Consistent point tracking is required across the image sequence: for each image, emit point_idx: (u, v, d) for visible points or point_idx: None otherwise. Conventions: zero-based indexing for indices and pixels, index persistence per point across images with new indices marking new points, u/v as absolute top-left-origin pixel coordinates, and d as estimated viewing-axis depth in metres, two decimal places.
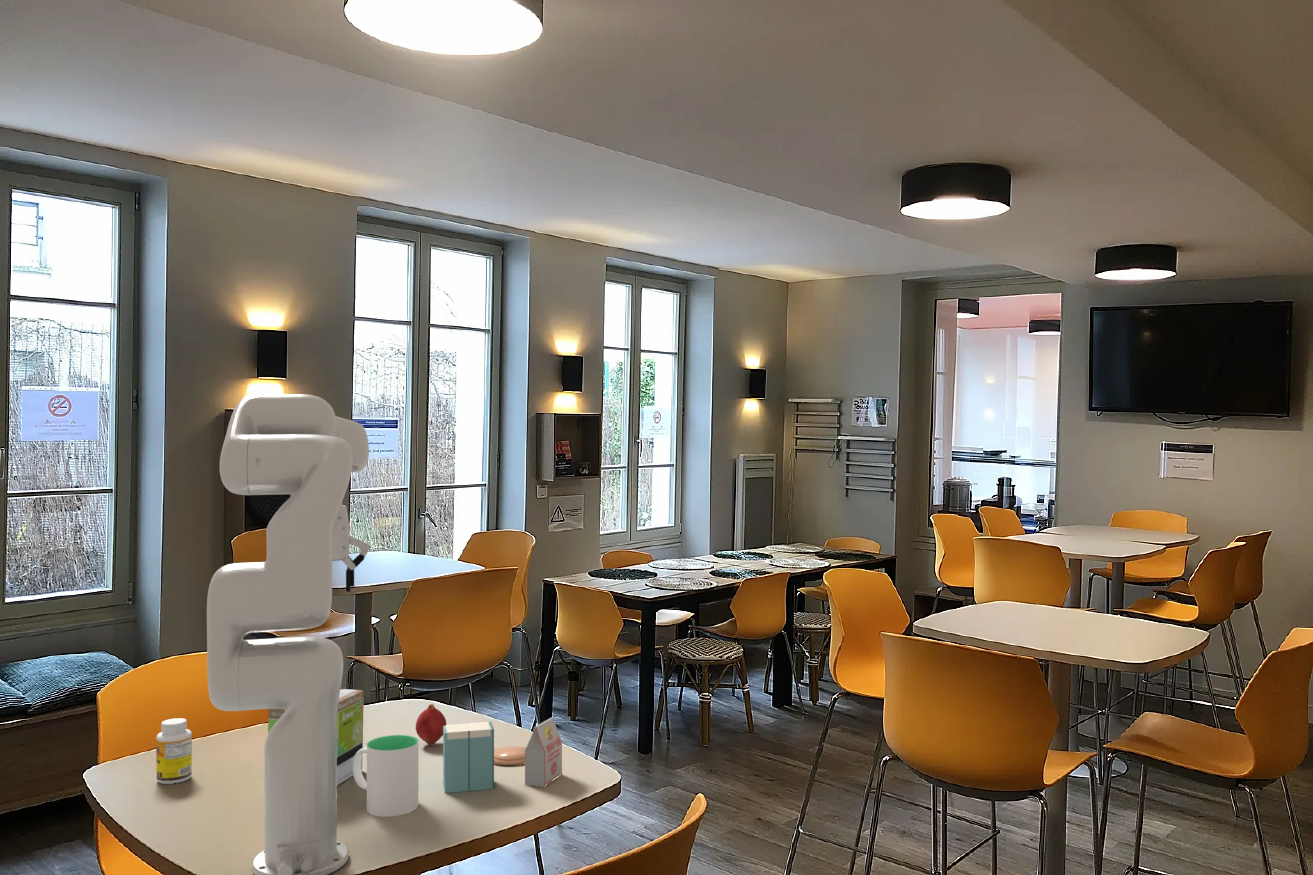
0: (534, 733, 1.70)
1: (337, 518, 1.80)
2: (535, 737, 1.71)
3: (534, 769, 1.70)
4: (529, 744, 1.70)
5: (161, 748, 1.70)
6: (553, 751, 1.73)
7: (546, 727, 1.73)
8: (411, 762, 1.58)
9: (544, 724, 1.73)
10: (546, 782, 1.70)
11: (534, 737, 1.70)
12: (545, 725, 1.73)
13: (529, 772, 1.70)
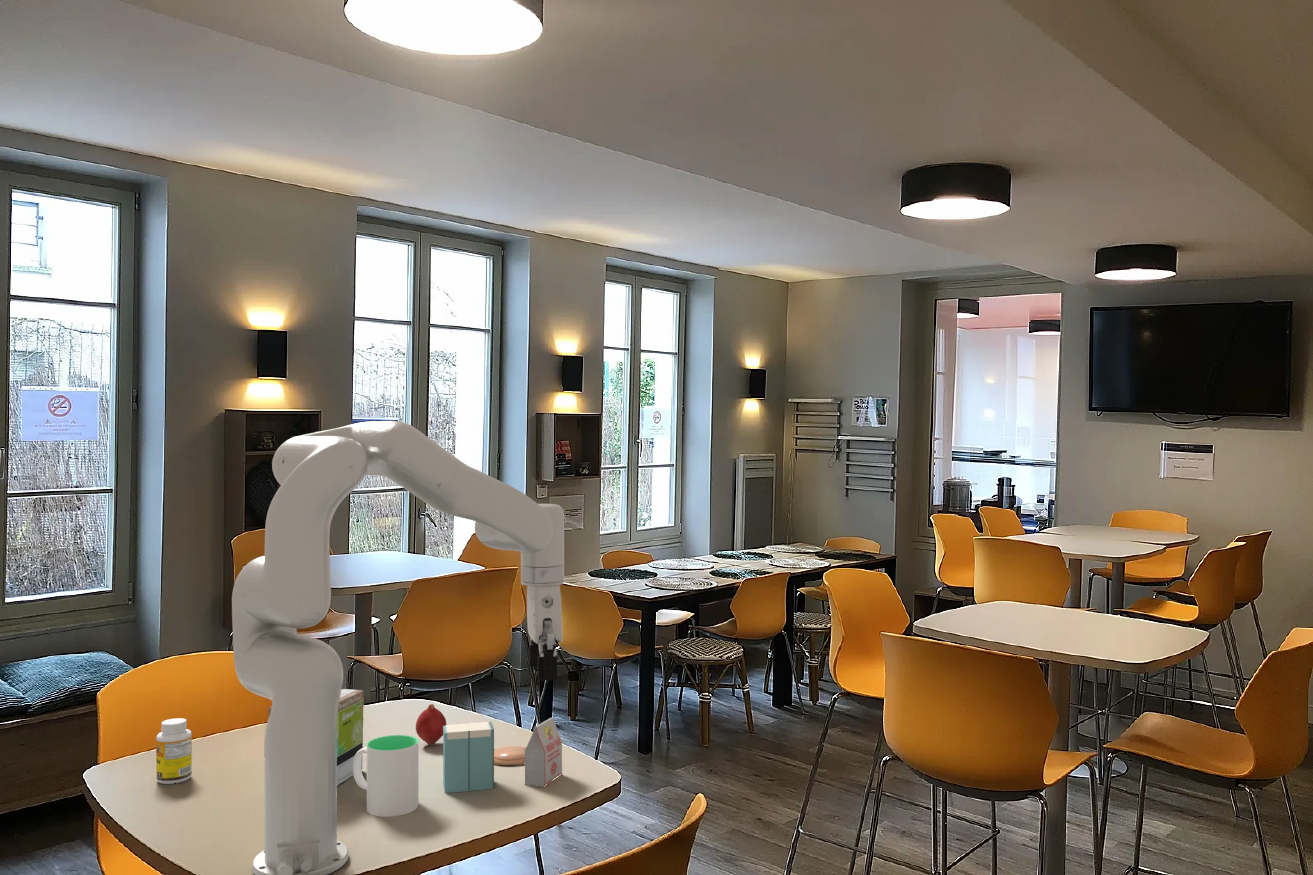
0: (534, 733, 1.70)
1: None
2: (535, 737, 1.71)
3: (534, 769, 1.70)
4: (529, 744, 1.70)
5: (161, 748, 1.70)
6: (553, 751, 1.73)
7: (546, 727, 1.73)
8: (411, 762, 1.58)
9: (544, 724, 1.73)
10: (546, 782, 1.70)
11: (534, 737, 1.70)
12: (545, 725, 1.73)
13: (529, 772, 1.70)
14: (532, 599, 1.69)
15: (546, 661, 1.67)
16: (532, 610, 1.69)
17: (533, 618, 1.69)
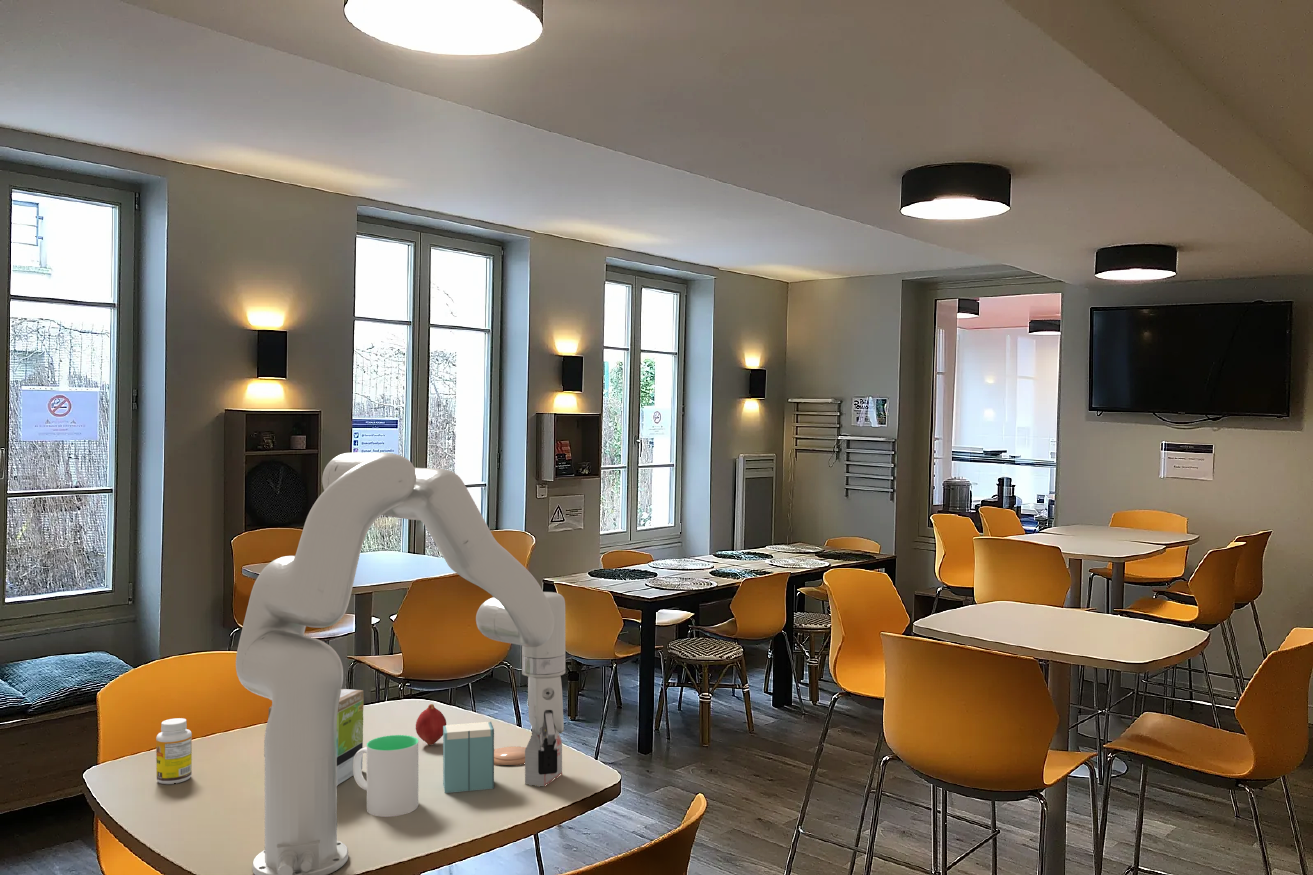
0: (534, 733, 1.70)
1: None
2: (535, 737, 1.71)
3: (534, 769, 1.70)
4: (529, 744, 1.70)
5: (161, 748, 1.70)
6: None
7: None
8: (411, 762, 1.58)
9: None
10: (546, 782, 1.70)
11: (534, 737, 1.70)
12: None
13: (529, 772, 1.70)
14: (533, 690, 1.69)
15: (546, 755, 1.68)
16: (533, 702, 1.69)
17: (534, 709, 1.69)
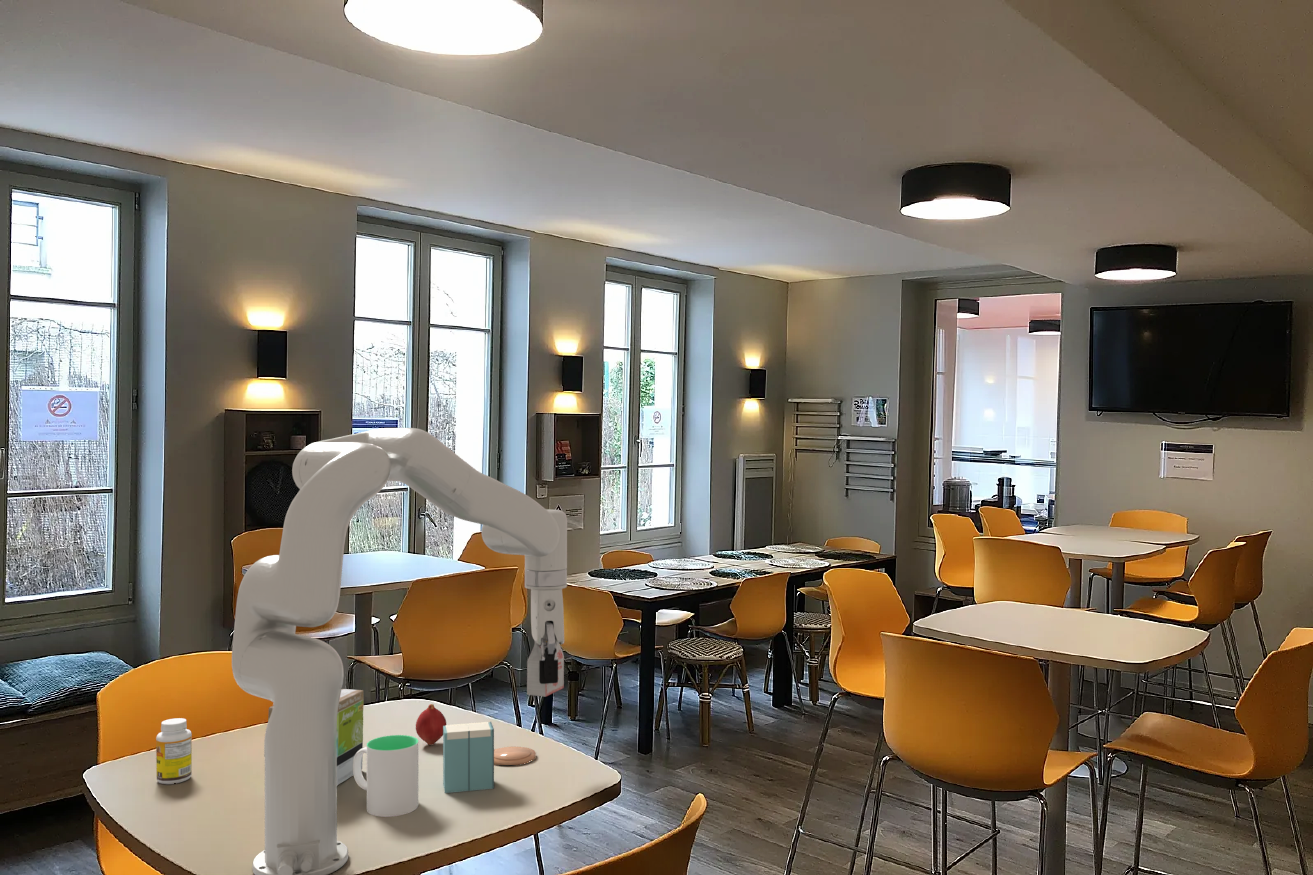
0: (536, 645, 1.75)
1: None
2: (537, 648, 1.75)
3: (536, 679, 1.75)
4: (531, 655, 1.75)
5: (161, 748, 1.70)
6: None
7: None
8: (411, 762, 1.58)
9: None
10: (547, 692, 1.75)
11: (536, 648, 1.75)
12: None
13: (531, 682, 1.75)
14: (535, 602, 1.74)
15: (547, 665, 1.73)
16: (535, 613, 1.74)
17: (536, 621, 1.73)
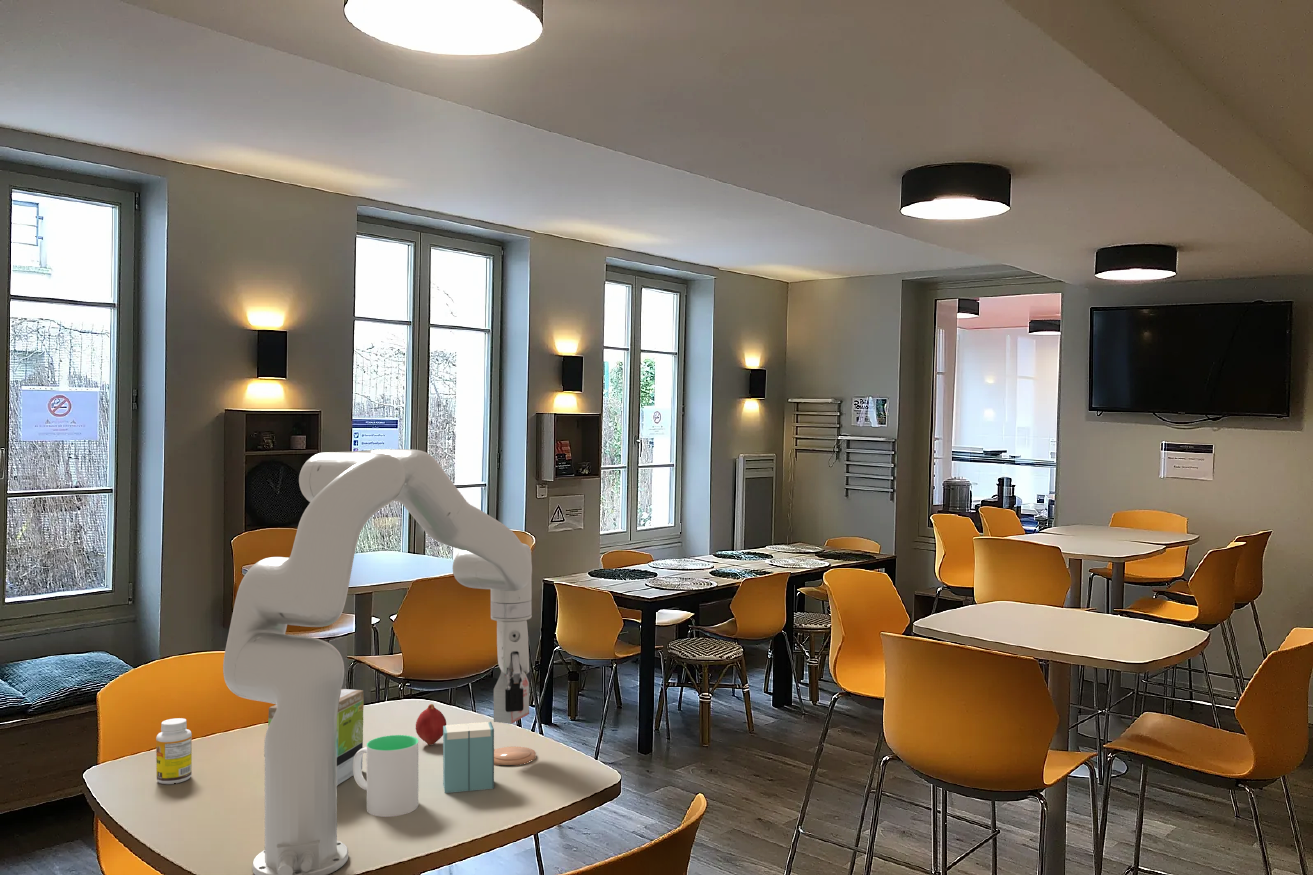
0: (502, 674, 1.82)
1: None
2: (503, 677, 1.82)
3: (502, 707, 1.81)
4: (497, 684, 1.82)
5: (161, 748, 1.70)
6: None
7: None
8: (411, 762, 1.58)
9: None
10: (513, 719, 1.81)
11: (502, 677, 1.82)
12: None
13: (497, 710, 1.82)
14: (500, 633, 1.81)
15: (513, 693, 1.79)
16: (501, 644, 1.81)
17: (501, 651, 1.80)
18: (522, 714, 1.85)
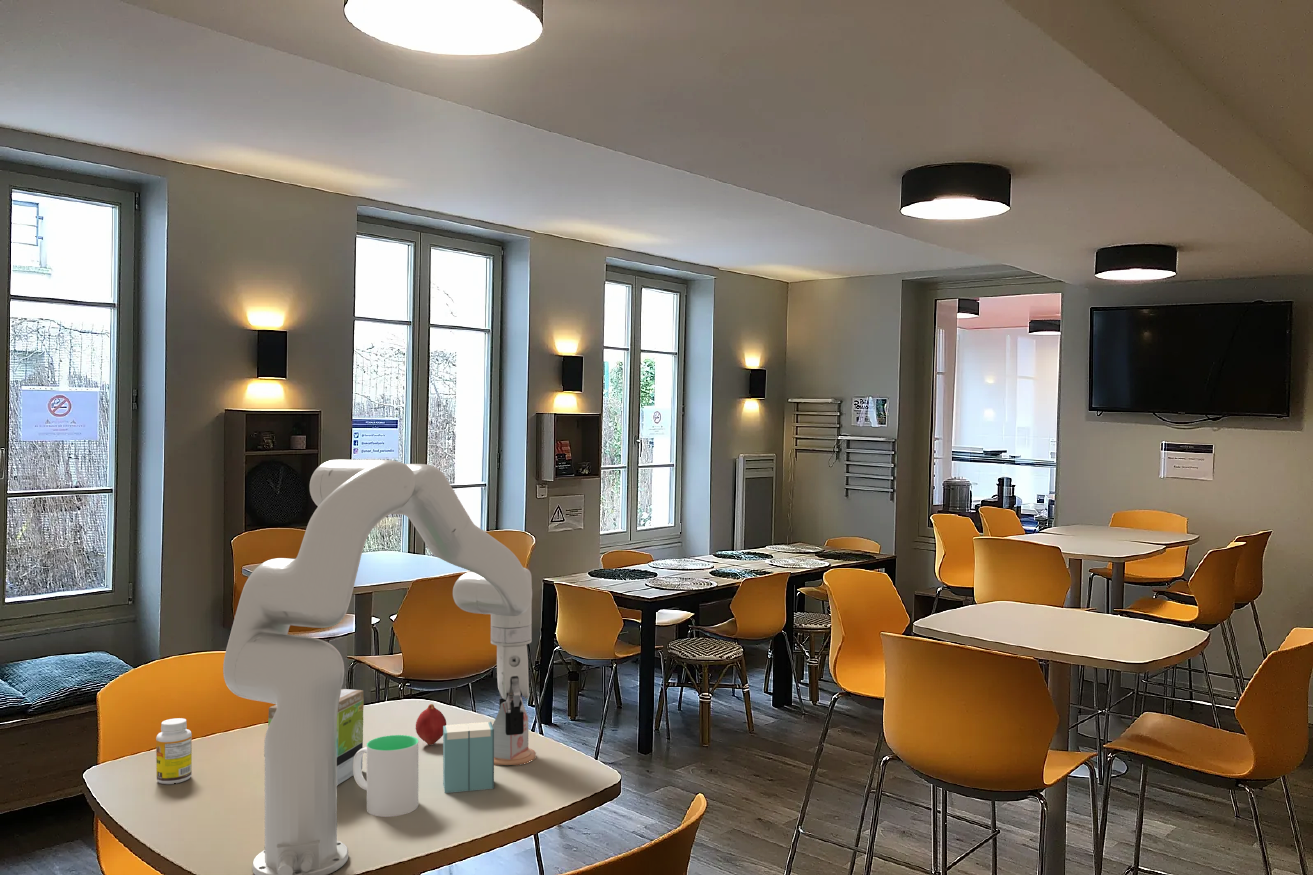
0: (501, 709, 1.81)
1: None
2: (502, 713, 1.82)
3: (501, 743, 1.81)
4: (496, 719, 1.82)
5: (161, 748, 1.70)
6: None
7: None
8: (411, 762, 1.58)
9: None
10: (512, 755, 1.81)
11: (501, 713, 1.82)
12: None
13: (496, 745, 1.81)
14: (500, 658, 1.81)
15: (513, 717, 1.79)
16: (500, 669, 1.81)
17: (501, 676, 1.80)
18: (521, 749, 1.84)
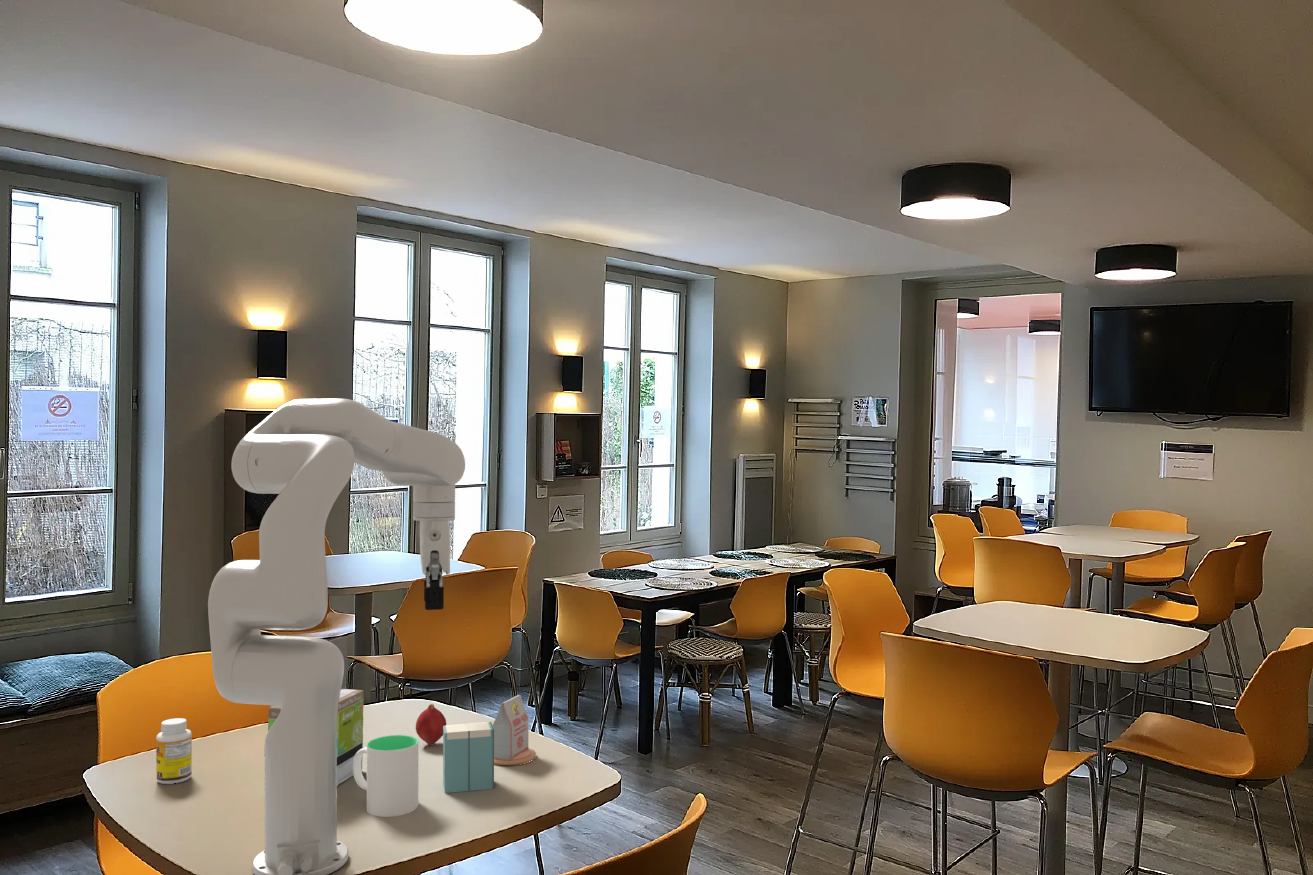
0: (501, 709, 1.81)
1: None
2: (502, 713, 1.82)
3: (501, 743, 1.81)
4: (496, 719, 1.82)
5: (161, 748, 1.70)
6: (520, 726, 1.84)
7: (513, 703, 1.84)
8: (411, 762, 1.58)
9: (511, 701, 1.84)
10: (512, 755, 1.81)
11: (501, 713, 1.82)
12: (512, 701, 1.84)
13: (496, 745, 1.81)
14: (421, 533, 1.79)
15: (432, 591, 1.76)
16: (421, 544, 1.79)
17: (421, 551, 1.78)
18: (521, 749, 1.84)
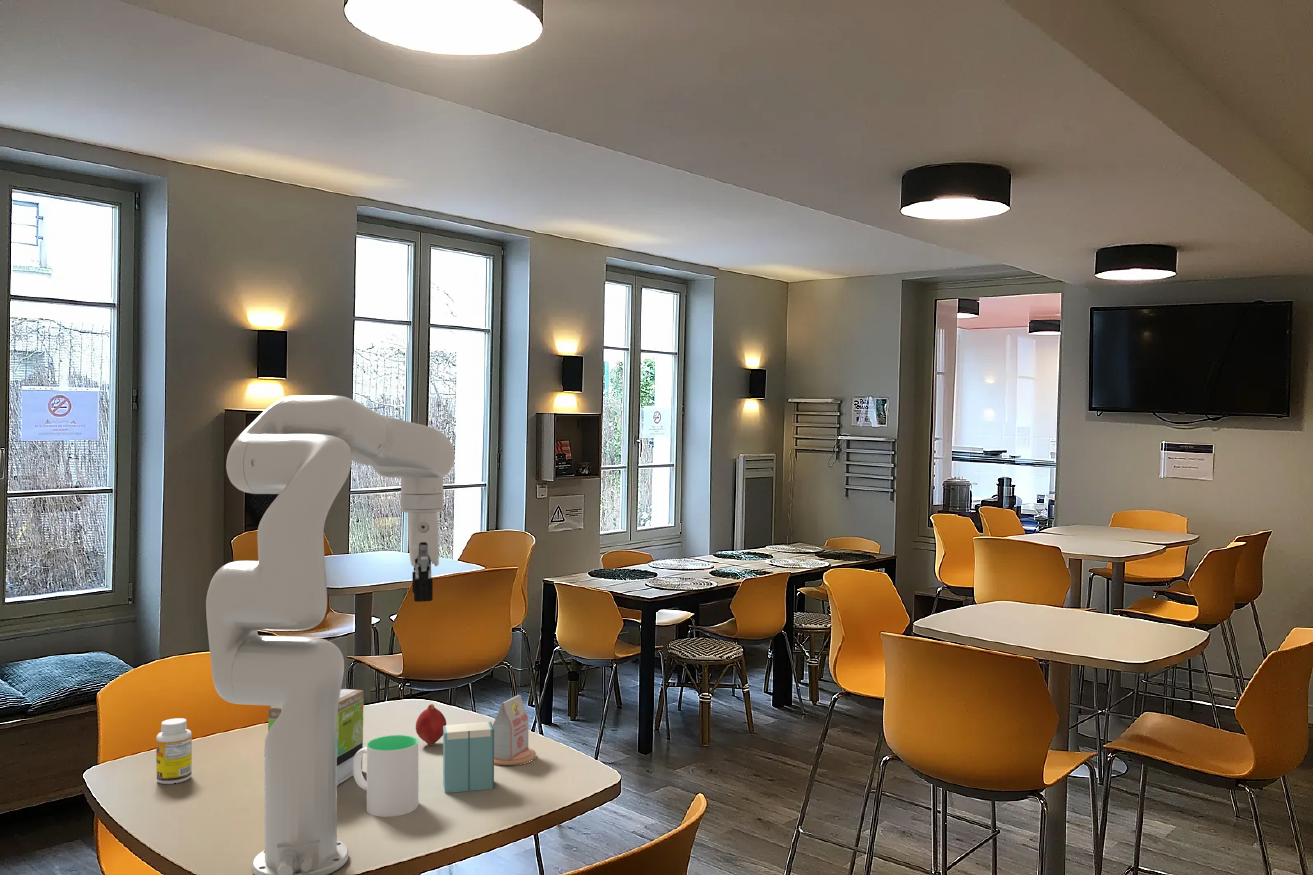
0: (501, 709, 1.81)
1: None
2: (502, 713, 1.82)
3: (501, 743, 1.81)
4: (496, 719, 1.82)
5: (161, 748, 1.70)
6: (520, 726, 1.84)
7: (513, 703, 1.84)
8: (411, 762, 1.58)
9: (511, 701, 1.84)
10: (512, 755, 1.81)
11: (501, 713, 1.82)
12: (512, 701, 1.84)
13: (496, 745, 1.81)
14: (409, 525, 1.79)
15: (421, 583, 1.76)
16: (409, 535, 1.78)
17: (410, 542, 1.78)
18: (521, 749, 1.84)
